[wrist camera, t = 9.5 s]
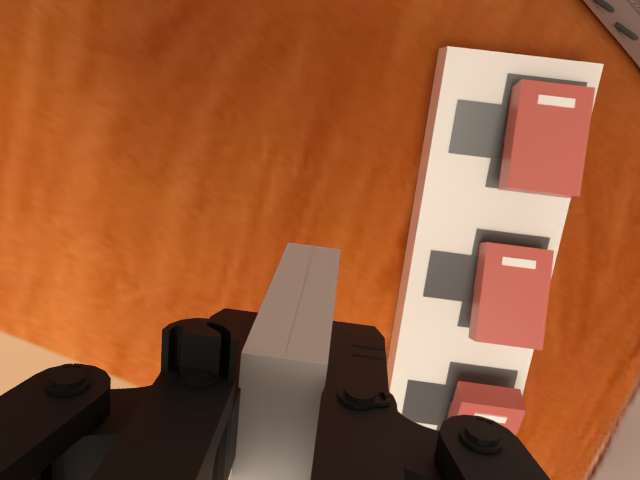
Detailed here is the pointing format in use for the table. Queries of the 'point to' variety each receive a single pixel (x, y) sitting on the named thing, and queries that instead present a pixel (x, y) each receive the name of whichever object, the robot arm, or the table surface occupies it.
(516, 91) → the block
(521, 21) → the table surface
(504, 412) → the rocker
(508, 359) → the rocker switch panel
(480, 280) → the block
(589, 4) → the grey rounded slab
